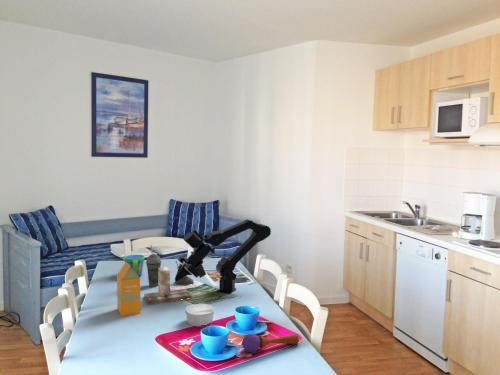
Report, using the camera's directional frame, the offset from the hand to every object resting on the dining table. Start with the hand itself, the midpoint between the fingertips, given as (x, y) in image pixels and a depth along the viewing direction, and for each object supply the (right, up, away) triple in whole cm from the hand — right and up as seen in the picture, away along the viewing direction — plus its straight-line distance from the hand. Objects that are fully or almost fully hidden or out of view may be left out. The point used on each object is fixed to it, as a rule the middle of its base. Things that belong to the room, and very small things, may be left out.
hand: (175, 280), depth 192 cm
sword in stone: (+1, -6, +22) cm, 22 cm away
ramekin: (+14, -10, -27) cm, 32 cm away
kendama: (+41, -13, -48) cm, 64 cm away
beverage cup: (-13, -6, +16) cm, 22 cm away
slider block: (-4, -6, -2) cm, 7 cm away
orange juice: (-16, -9, -17) cm, 25 cm away
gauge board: (-3, -8, -1) cm, 8 cm away
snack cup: (-27, -5, +33) cm, 43 cm away
